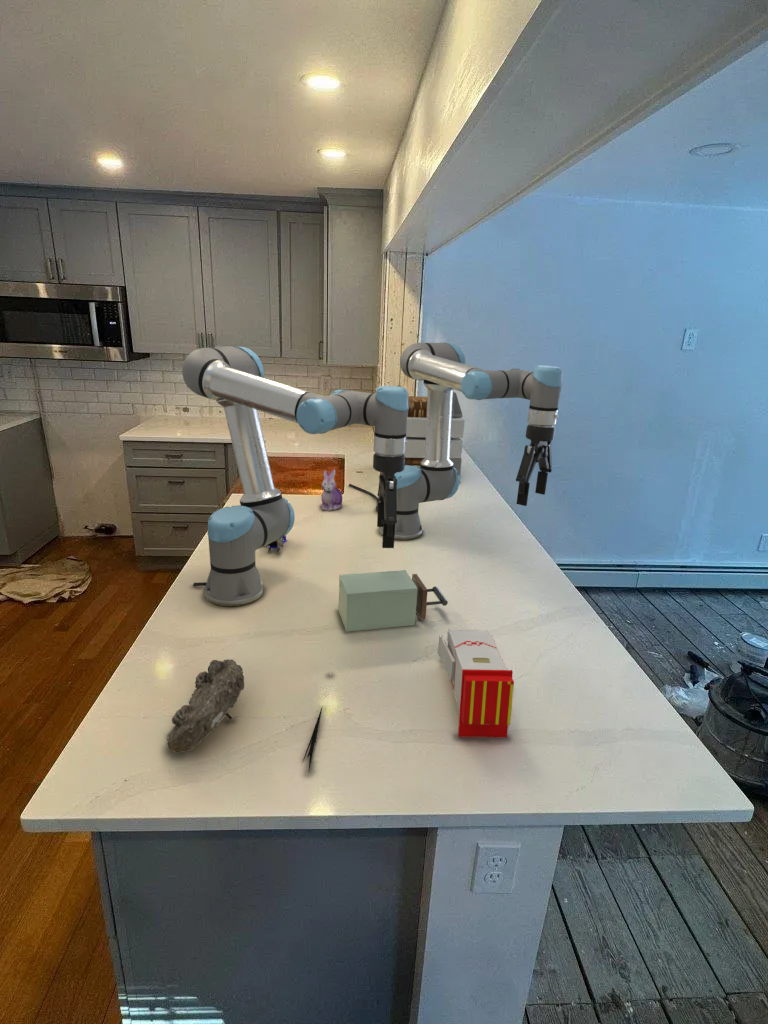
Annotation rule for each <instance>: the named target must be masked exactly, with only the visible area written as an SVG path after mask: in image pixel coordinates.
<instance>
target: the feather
mask: <svg viewBox="0 0 768 1024" xmlns="http://www.w3.org/2000/svg"><path fill="white" fill-rule="evenodd" d="M329 675H330V676H331V675H332V674H331V673H330V674H329ZM322 710H323V707H321V708H320V710H319V713H318V716H317V719H316V723H315V725H314V728H313V731H312V733H311V737H310V739H309V742H308V745H307V748H306V751H305V754H304V757H303V760H302V763H301V767H302V765H303V763H304V761H305V758H308V759H309V760H308V762H307V763H308V764H307V766H308V771H310V770H311V766H312V765H311V764H312V760H313V757H315V756H314V755H315V751H316V749H315V746H317V739H318V733H319V729H320V722H321V717H322V712H323V711H322ZM313 754H314V755H313ZM306 755H307V757H306Z"/></svg>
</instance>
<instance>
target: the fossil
mask: <svg viewBox="0 0 768 1024" xmlns="http://www.w3.org/2000/svg"><path fill="white" fill-rule="evenodd" d="M243 670H244V669H243V667H242V665H240V664H237V662H236V661H235V660H234V659H232V658H231V659H227V658H226V659H224V660H223V661H222V660H217V659H212V660H211V661H210V663H209V665H208V666H207V671H201V672H199V673H198V674H197V675H196V676H195V680H194V684H195V685H194V687H195V689H194V690H193V693H192V694H191V697H190V698H189V700H188V704H184V705H182V706H181V707H180V709H177V710H176V711H175V713H174V715H173V716H172V718H171V723H172V724H173V727H172V730H171V731H170V732H168V734H167V738H166V741H167V742H166V745H167V749H168V750H169V751H173V752H174V753H176V754H178V753H182V752H188V751H189V752H192V751H193V750H195V748H196V747H197V746H199V744H200V743H201V742H203V741H204V740H205V739H206V738H207V737H208V736H209V735H210V734H211V733H212V732H214V730H215V729H217V727H218V726H219V724H220V722H221V721H222V720H223V719H224V718H225V716H226V717H227V719H229V720H233V717H232V715H230V714H229V710H230V709H231V708H234V706H235V704H236V703H237V702H238V699H239V697H240V695H241V693H242V691H243V690H245V689H244V688H245V675H244V671H243Z"/></svg>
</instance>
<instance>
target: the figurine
mask: <svg viewBox="0 0 768 1024" xmlns="http://www.w3.org/2000/svg"><path fill="white" fill-rule="evenodd" d="M335 476H336V469H332V470H331V471H330V473H329V472H328V470H326V469H325V470H323V481H322V483H321V489H322V490H323V491H322V493H321V497H320V498H321V504H320V505H321V506H320V507H321V510H323V511H335V510H338V509H340V508H342V505H343V495H342V492H341V491H340V489H339V488H337V483H336V481H335Z"/></svg>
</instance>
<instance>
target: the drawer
mask: <svg viewBox="0 0 768 1024" xmlns="http://www.w3.org/2000/svg"><path fill="white" fill-rule="evenodd" d="M411 579H412V581H413V582H414V584H415V585H416V587H417V602H416V615H417V616H418V617H419V619H420V620H421V621H422V620H426V617H427V616H426V614H427V606H433V605H442V606H444V607H446V606H447V605H448V604H449V601H448V600H447V599H446V597H445V596H444V594H443V593H442V592H441V590H440V589H439V587H437V586H433V587H432V588H427V587H426V585H425V583H424V582H423V581H422V579H421V578H420V577H419V575H418V574H417V573H412V574H411ZM430 592H433V594H434V595H435V597H436V598H437V600H436V601H428V593H430Z"/></svg>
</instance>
